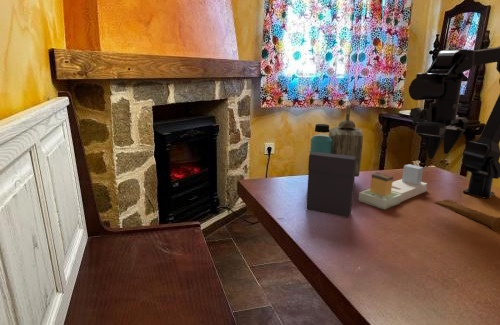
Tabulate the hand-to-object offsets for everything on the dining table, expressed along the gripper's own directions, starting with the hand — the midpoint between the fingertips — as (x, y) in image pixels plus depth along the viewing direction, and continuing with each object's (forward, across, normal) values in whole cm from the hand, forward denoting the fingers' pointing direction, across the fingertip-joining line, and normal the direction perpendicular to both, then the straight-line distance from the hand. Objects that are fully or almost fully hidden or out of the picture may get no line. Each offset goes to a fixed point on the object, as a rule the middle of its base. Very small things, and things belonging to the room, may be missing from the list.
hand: (438, 156), depth 98 cm
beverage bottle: (+12, +21, -25) cm, 35 cm away
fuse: (+13, -2, -8) cm, 15 cm away
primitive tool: (+13, +4, +10) cm, 17 cm away
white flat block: (+12, +2, -8) cm, 15 cm away
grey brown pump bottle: (+12, +10, -25) cm, 29 cm away
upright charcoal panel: (+12, +32, -12) cm, 36 cm away
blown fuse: (+12, +15, -8) cm, 21 cm away
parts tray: (+12, +15, -8) cm, 21 cm away
